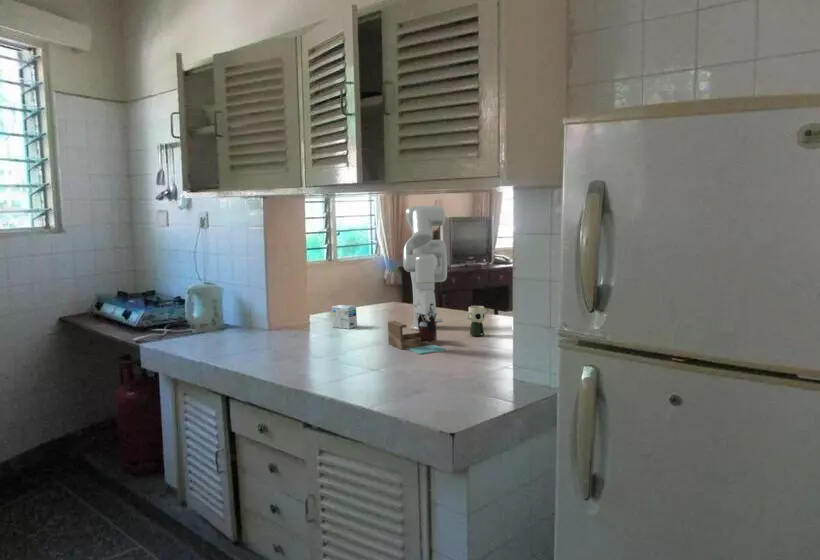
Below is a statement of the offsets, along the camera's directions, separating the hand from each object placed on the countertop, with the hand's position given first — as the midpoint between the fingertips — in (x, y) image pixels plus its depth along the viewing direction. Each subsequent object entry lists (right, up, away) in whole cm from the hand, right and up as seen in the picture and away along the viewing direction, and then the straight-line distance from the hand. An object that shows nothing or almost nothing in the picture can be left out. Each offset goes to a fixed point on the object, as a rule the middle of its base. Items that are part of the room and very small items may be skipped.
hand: (426, 329), depth 260 cm
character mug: (+23, -5, +26) cm, 35 cm away
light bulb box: (-39, -4, +56) cm, 68 cm away
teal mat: (0, -9, +1) cm, 9 cm away
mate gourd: (0, -5, +1) cm, 5 cm away
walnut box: (-6, -7, +13) cm, 16 cm away
